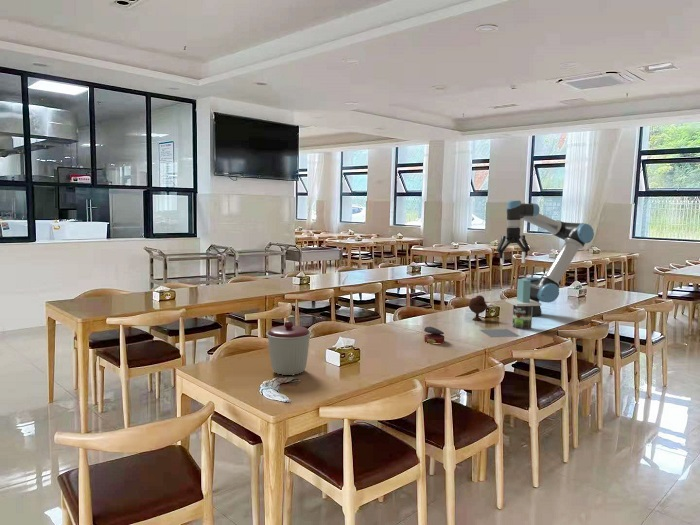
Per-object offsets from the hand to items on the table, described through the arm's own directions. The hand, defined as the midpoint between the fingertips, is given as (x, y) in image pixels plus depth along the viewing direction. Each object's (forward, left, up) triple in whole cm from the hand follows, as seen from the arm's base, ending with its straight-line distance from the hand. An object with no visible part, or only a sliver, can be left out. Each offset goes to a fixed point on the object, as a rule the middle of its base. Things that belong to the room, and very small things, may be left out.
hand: (512, 263), depth 304 cm
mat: (+20, +30, -34) cm, 50 cm away
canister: (+132, +81, -34) cm, 158 cm away
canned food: (+59, +41, -35) cm, 80 cm away
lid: (+2, +19, -20) cm, 28 cm away
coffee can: (+2, +19, -34) cm, 39 cm away
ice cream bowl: (+19, -4, -34) cm, 39 cm away
